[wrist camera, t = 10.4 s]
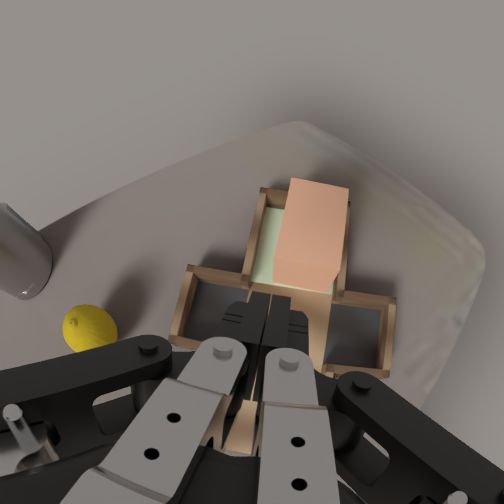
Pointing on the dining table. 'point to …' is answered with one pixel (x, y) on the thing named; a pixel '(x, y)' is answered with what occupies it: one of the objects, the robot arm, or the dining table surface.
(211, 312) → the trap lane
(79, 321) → the lemon
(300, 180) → the block
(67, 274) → the dining table surface
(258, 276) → the pad
